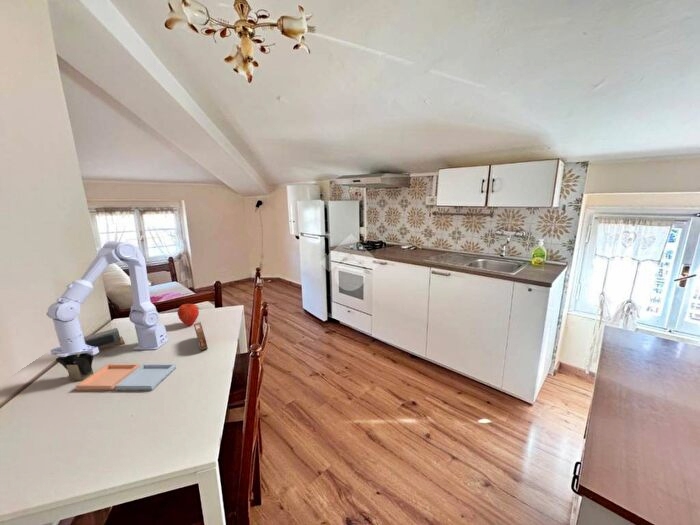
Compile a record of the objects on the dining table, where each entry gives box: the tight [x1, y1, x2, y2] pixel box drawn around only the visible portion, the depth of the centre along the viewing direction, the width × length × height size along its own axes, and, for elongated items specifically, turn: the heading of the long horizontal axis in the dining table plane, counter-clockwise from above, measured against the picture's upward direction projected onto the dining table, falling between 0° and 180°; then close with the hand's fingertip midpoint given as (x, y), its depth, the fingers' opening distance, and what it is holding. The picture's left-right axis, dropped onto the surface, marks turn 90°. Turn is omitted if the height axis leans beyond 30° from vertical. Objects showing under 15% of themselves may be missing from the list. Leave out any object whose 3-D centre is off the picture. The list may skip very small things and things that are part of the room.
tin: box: [193, 321, 208, 351], centre depth 112 cm, size 15×3×8 cm, turn 34°
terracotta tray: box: [75, 363, 141, 392], centre depth 92 cm, size 12×12×2 cm
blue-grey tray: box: [115, 363, 177, 392], centre depth 92 cm, size 12×12×2 cm
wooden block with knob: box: [66, 360, 94, 382], centre depth 93 cm, size 4×4×7 cm
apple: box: [177, 303, 200, 327], centre depth 130 cm, size 9×8×11 cm
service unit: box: [77, 327, 126, 357], centre depth 112 cm, size 7×14×6 cm, turn 137°
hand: (81, 372), depth 94 cm, fingers closed on wooden block with knob, 4 cm apart
